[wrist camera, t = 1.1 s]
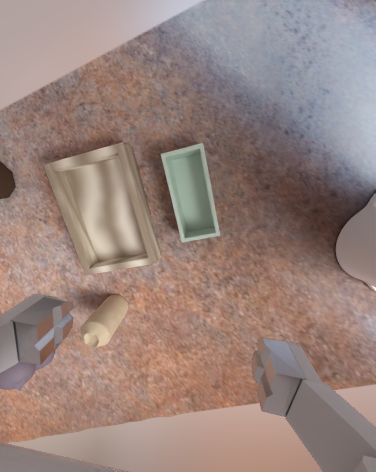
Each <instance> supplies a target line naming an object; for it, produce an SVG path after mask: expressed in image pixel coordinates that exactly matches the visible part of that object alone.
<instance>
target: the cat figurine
mask: <svg viewBox="0 0 376 472" xmlns="http://www.w3.org/2000/svg"><path fill="white" fill-rule="evenodd" d="M61 343H62V341H61V342H59V343H57V344H55V349H57V347H58V346H59V345H60V344H61ZM54 354H55V350H54V351H53V352H52V353H51V354H50V355H49V357H48V358H47V359H46V360H45V361H44V362H43V363H42V364H41V365H37V364H32V363H26V362H20V361H18V363H17V364H15V365H14V366H12V367H10V368H8V369H7V370H5V371H3V372H1V373H0V389H5V390H10V389H15V388H16V389H18V390H20V391H21V389H22V387H23V385H24V384H25V383H26V382H27V381H28V380H29V379H30V378H31V377H32V376H33V374H34V372H35V370H38V369H40V368H43V367H45V366H46V365H47V364H48V363H49V362H50V361H51V360H52V359H53V357H54Z"/></svg>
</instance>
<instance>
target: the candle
mask: <svg viewBox="0 0 376 472" xmlns="http://www.w3.org/2000/svg"><path fill="white" fill-rule="evenodd" d="M127 311H128V303H127V301H126V300H125V299H124V298H123V297H122V296H119V295H110V296H109V297H107V298H106V299H105V300H104V302H103V303H102V304H101V305H100V306H99V307H98V308H97V310H96V311H95V312H94V313H93V314H92V315H91V316H90V317H89V319H88V320H87V321H86V322H85V323H84V324H83V325H82V327H81V336H82V339H83V340H84V342H85V344H86V345H87V346H88V347H90V348H93V347H100V346H104V345H106V344H107V343H108V342H109V340H110V338H111V337H112V335H113V334H114V332H115V330H116V329H117V327H118V326H119V324H120V322H121V321H122V319H123V318H124V316H125V314H126V313H127Z"/></svg>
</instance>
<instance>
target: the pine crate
mask: <svg viewBox="0 0 376 472" xmlns="http://www.w3.org/2000/svg"><path fill="white" fill-rule="evenodd" d="M43 167H44V170H45V172H46V175H47V177H48V180H49V183H50V185H51V188H52V190H53V193H54V195H55V198H56V200H57V203H58V206H59V208H60V211H61V213H62V216H63V218H64V221H65V223H66V226H67V229H68V231H69V234H70V236H71V239H72V241H73V244H74V247H75V249H76V252H77V254H78V257H79V259H80V262H81V264H82V267H83V270H84V272H85V275H90V274H95V273H101V272H107V271H113V270H119V269H125V268H131V267H137V266H143V265H148V264H154V263H157V262H158V260H159V259H160V257H161V255H162V254H161V250H160V247H159V243H158V239H157V236H156V232H155V228H154V225H153V221H152V217H151V214H150V210H149V206H148V202H147V199H146V195H145V191H144V188H143V184H142V180H141V177H140V173H139V169H138V166H137V162H136V158H135V155H134V151H133V147H131V146H129V145H127V144H125V143H123V142H121V143H118V144H114V145H111V146H107V147H104V148H100V149H97V150H93V151H90V152H86V153H83V154H79V155H76V156H72V157H69V158H65V159H62V160H58V161H55V162H51V163H47V164H44V165H43Z"/></svg>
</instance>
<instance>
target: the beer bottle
mask: <svg viewBox="0 0 376 472" xmlns="http://www.w3.org/2000/svg"><path fill="white" fill-rule="evenodd" d="M14 188H15V182H14V178H13V174H12V172H11V171H10V170H9V169H8V168H7V167H6V166H5V165H4V164H2V163H1V162H0V199H3V198H8V197H9V196H10V195H11V193H12V192H13V190H14Z"/></svg>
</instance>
